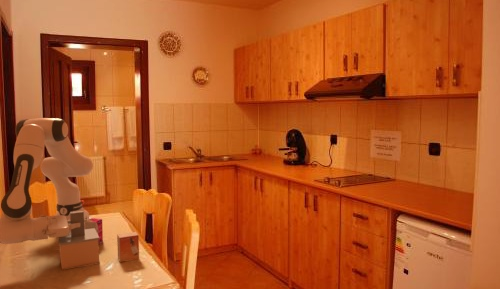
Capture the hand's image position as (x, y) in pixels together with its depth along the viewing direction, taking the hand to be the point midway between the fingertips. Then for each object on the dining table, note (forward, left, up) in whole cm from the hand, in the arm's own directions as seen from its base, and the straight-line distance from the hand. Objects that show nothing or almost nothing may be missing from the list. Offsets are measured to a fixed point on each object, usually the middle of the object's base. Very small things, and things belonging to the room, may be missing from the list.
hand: (79, 223), depth 168 cm
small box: (-3, +19, -16) cm, 25 cm away
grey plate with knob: (0, -1, -6) cm, 6 cm away
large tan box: (0, -1, -16) cm, 16 cm away
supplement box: (-21, -4, -16) cm, 26 cm away
